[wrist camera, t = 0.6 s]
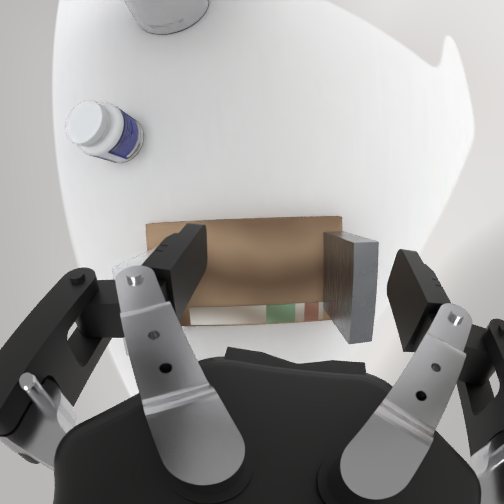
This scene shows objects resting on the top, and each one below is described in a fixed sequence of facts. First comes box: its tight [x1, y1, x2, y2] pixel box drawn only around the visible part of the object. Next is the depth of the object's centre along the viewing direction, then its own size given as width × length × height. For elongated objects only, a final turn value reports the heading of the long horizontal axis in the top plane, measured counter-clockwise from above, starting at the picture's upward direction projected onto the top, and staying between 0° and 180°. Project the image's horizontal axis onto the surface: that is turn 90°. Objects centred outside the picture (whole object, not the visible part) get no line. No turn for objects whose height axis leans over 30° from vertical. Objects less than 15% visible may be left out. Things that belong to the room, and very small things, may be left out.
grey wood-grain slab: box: [323, 231, 379, 344], centre depth 25 cm, size 8×2×9 cm, turn 2°
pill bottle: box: [65, 100, 143, 163], centre depth 24 cm, size 5×5×9 cm
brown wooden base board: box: [146, 216, 342, 326], centre depth 30 cm, size 11×20×2 cm, turn 92°
